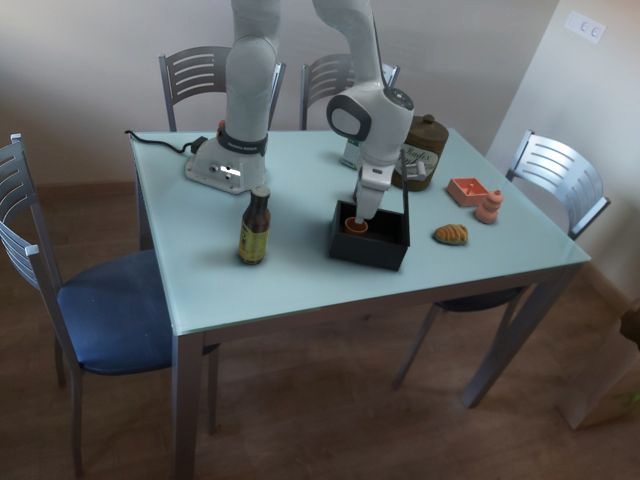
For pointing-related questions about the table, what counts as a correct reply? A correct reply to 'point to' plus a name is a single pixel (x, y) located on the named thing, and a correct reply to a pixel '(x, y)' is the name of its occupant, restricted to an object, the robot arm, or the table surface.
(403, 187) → the black bin lid
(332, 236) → the black storage bin
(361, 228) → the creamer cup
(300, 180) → the table surface
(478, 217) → the pottery
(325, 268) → the table surface
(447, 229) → the pastry
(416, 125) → the wooden container
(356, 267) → the table surface
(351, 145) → the syrup box
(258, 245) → the sauce bottle
